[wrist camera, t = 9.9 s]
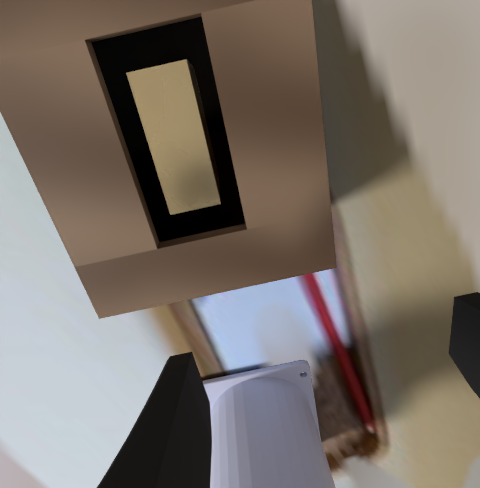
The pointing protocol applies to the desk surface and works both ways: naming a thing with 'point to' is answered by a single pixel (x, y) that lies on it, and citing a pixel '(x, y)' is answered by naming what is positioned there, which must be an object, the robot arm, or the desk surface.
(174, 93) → the block
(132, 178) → the walnut coin box
